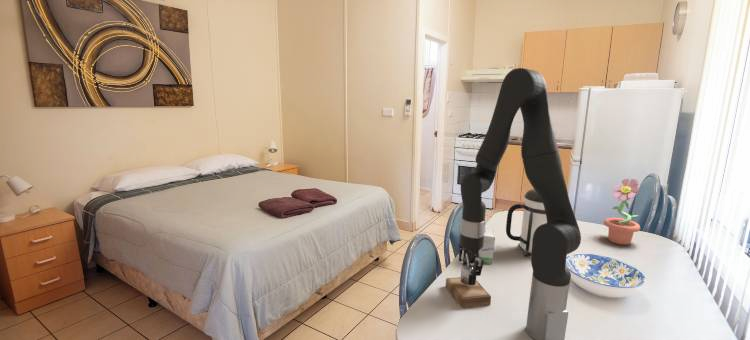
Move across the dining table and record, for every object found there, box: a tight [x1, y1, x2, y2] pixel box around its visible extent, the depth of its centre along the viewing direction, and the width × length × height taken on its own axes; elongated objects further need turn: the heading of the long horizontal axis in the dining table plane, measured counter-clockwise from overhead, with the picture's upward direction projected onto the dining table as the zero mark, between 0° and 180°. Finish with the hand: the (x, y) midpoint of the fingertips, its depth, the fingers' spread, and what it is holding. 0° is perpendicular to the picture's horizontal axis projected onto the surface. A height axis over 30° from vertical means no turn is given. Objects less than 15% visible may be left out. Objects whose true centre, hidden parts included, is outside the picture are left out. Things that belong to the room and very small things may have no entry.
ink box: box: [479, 228, 496, 265], centre depth 145 cm, size 9×5×12 cm, turn 168°
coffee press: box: [505, 188, 547, 257], centre depth 151 cm, size 17×16×30 cm
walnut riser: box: [445, 276, 492, 309], centre depth 120 cm, size 13×10×3 cm
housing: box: [460, 263, 473, 285], centre depth 119 cm, size 5×5×5 cm
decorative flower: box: [603, 178, 641, 246], centre depth 164 cm, size 15×14×30 cm
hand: (468, 280), depth 119 cm, fingers closed on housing, 5 cm apart
